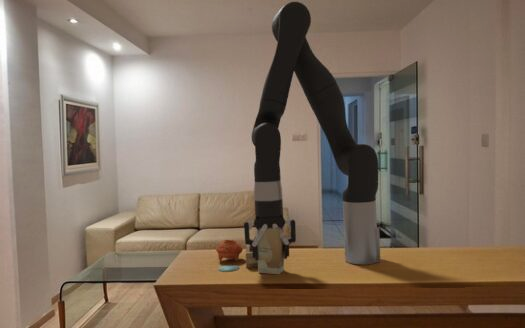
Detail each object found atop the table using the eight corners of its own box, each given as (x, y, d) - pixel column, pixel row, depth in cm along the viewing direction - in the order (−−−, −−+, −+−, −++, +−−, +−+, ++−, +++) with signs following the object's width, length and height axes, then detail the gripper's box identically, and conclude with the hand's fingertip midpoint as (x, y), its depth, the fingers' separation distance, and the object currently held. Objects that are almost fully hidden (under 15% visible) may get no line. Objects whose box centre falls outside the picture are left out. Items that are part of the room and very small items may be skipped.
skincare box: (257, 273, 103) (255, 227, 102) (263, 268, 107) (261, 224, 106) (280, 275, 100) (278, 228, 100) (285, 270, 104) (283, 225, 104)
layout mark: (239, 264, 111) (239, 264, 111) (238, 271, 105) (238, 270, 105) (219, 265, 111) (219, 265, 111) (216, 272, 105) (216, 271, 105)
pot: (217, 256, 121) (221, 235, 121) (241, 261, 121) (245, 240, 121) (211, 262, 114) (215, 240, 113) (237, 268, 113) (241, 245, 113)
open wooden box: (273, 257, 118) (272, 243, 118) (274, 266, 108) (273, 251, 108) (247, 258, 118) (246, 244, 118) (246, 268, 108) (245, 253, 108)
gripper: (241, 200, 99) (244, 264, 100) (296, 198, 99) (299, 261, 100) (242, 197, 107) (245, 256, 107) (293, 195, 107) (296, 254, 107)
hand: (271, 258), depth 103 cm, fingers closed on skincare box, 7 cm apart
